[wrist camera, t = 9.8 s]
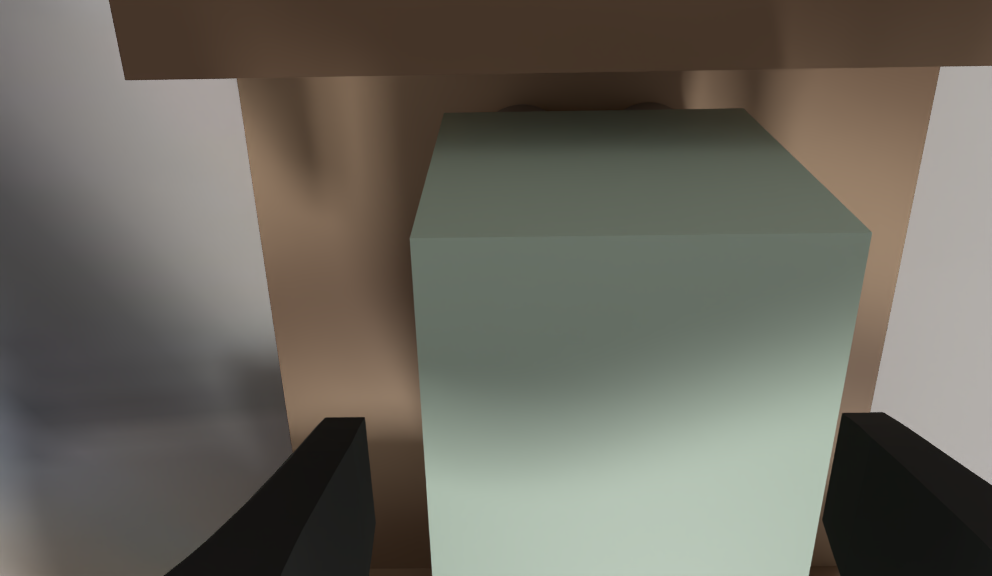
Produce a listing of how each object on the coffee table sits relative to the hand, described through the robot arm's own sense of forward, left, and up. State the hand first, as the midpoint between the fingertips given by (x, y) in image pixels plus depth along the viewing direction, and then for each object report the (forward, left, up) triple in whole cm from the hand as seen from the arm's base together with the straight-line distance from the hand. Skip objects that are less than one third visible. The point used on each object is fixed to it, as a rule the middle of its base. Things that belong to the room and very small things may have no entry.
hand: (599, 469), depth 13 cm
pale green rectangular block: (0, 0, -2) cm, 2 cm away
